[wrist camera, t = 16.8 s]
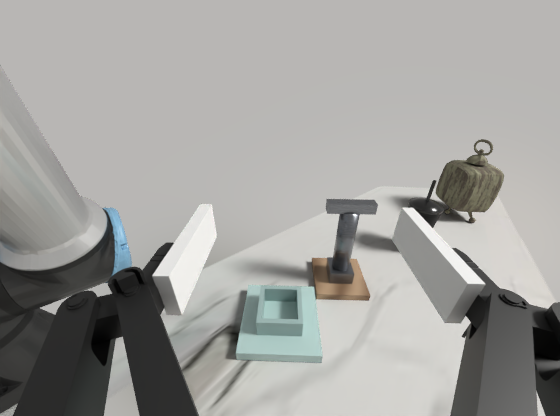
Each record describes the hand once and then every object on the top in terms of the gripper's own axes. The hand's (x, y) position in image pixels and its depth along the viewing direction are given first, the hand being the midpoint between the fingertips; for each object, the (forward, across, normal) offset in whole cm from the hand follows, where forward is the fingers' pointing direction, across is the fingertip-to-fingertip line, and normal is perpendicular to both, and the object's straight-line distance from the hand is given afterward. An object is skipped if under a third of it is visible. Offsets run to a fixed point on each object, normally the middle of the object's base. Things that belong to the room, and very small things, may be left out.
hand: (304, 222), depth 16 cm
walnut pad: (+25, +11, -32) cm, 42 cm away
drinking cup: (+36, +33, -32) cm, 59 cm away
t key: (+24, +11, -30) cm, 41 cm away
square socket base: (+14, -2, -32) cm, 35 cm away
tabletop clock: (+56, +56, -32) cm, 85 cm away
